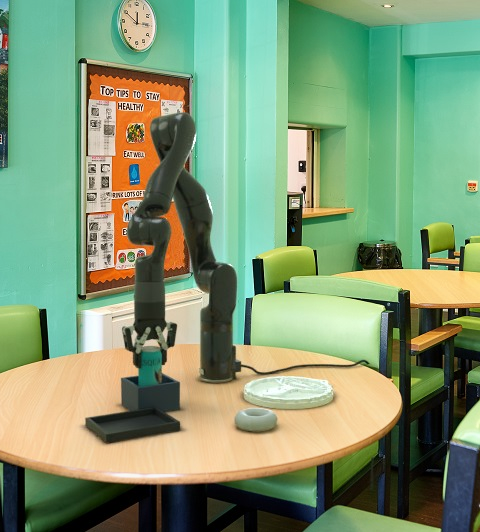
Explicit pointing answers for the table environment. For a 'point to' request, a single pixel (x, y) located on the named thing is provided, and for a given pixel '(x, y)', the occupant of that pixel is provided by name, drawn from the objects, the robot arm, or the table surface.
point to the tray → (131, 424)
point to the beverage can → (150, 366)
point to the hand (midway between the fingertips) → (150, 365)
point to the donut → (255, 419)
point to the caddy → (150, 394)
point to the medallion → (288, 392)
